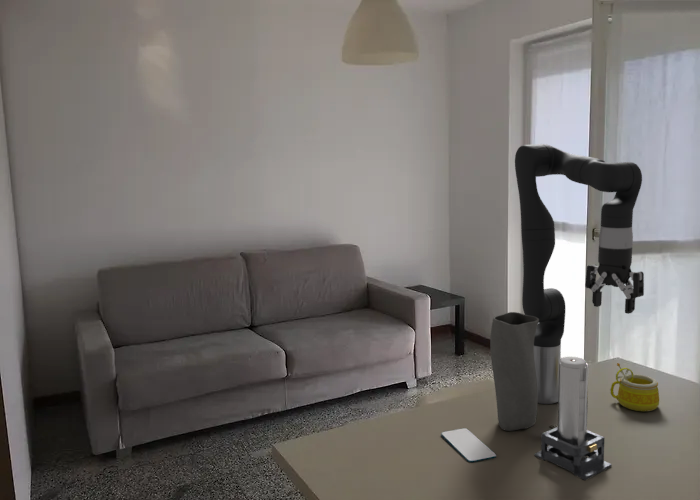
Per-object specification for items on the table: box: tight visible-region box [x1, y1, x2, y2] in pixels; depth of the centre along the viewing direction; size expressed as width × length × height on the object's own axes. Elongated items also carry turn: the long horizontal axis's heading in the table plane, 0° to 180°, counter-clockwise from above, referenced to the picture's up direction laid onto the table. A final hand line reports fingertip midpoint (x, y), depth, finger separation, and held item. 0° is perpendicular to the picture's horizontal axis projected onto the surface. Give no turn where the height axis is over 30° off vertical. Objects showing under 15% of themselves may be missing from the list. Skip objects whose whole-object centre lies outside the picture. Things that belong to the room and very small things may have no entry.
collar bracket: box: [533, 426, 613, 481], centre depth 141 cm, size 14×10×6 cm
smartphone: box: [440, 427, 497, 463], centre depth 151 cm, size 8×1×16 cm
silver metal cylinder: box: [556, 356, 590, 462], centre depth 140 cm, size 6×6×25 cm
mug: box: [609, 362, 660, 412], centre depth 170 cm, size 13×11×12 cm
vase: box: [489, 311, 539, 432], centre depth 159 cm, size 12×12×30 cm
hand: (612, 309), depth 147 cm, fingers open, 8 cm apart
